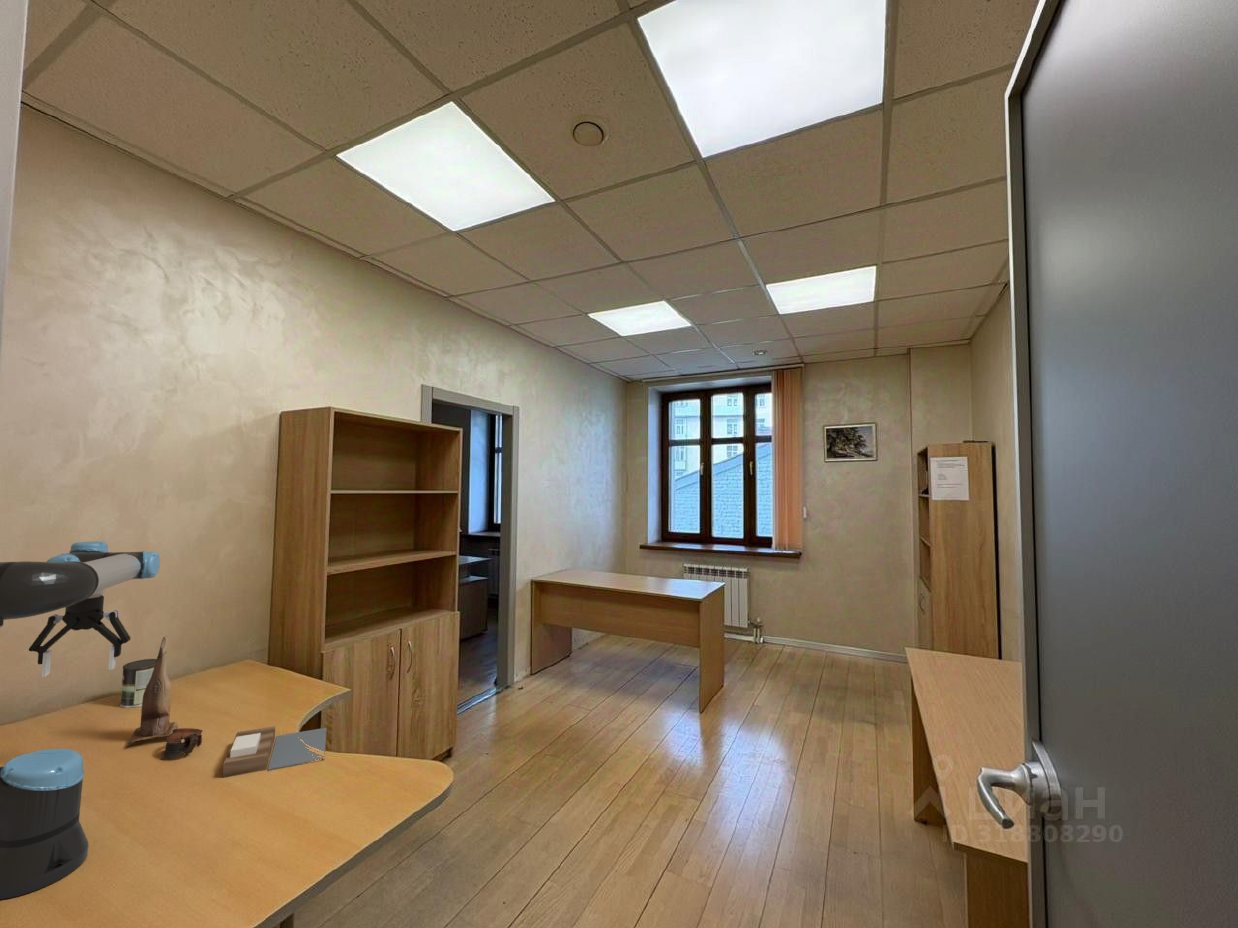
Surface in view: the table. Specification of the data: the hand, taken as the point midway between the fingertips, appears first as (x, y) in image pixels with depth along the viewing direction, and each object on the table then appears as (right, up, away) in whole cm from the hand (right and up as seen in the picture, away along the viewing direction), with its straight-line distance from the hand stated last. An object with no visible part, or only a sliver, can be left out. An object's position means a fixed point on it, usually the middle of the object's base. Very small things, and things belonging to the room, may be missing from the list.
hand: (79, 671), depth 145 cm
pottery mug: (+22, -29, +9) cm, 37 cm away
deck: (+43, -29, +8) cm, 52 cm away
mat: (+54, -29, +14) cm, 63 cm away
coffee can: (-24, -29, +43) cm, 57 cm away
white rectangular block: (+43, -25, +5) cm, 50 cm away
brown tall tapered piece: (+5, -28, +18) cm, 34 cm away
